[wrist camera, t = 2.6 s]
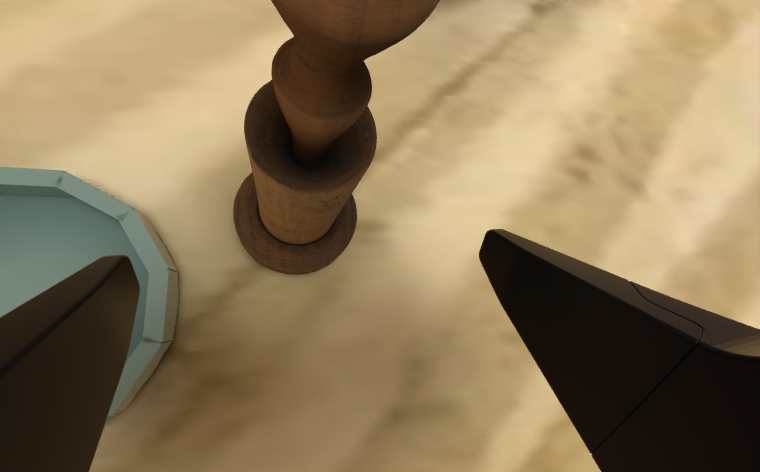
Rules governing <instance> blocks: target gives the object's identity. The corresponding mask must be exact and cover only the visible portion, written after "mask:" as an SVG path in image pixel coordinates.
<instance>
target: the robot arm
mask: <svg viewBox="0 0 760 472" xmlns="http://www.w3.org/2000/svg"><path fill="white" fill-rule="evenodd" d="M479 258H480V262H481V264H482V266H483V268H484V270H485V272H486V274H487V276H488V278H489V281H490V283H491V285H492V287H493V289H494V291H495V293H496V295H497V297H498V299H499V301H500V303H501V305H502V307H503V309H504V310H505V312H506V314H507V315H508V317H509V319H510V320H511V322H512V324H513V325H514V327H515V328H516V330H517V332H518V333H519V335H520V337H521V338H522V340H523V342H524V343H525V345H526V347H527V348H528V350H529V352H530V353H531V355H532V357H533V358H534V360H535V362H536V363H537V365H538V367H539V368H540V370H541V372H542V373H543V375H544V377H545V378H546V380H547V382H548V383H549V385H550V387H551V388H552V390H553V392H554V393H555V395H556V397H557V398H558V400H559V402H560V403H561V405H562V407H563V408H564V410H565V412H566V413H567V415H568V417H569V418H570V420H571V422H572V423H573V425H574V427H575V428H576V430H577V432H578V433H579V435H580V437H581V438H582V440H583V442H584V443H585V445H586V447H587V448H588V450H589V452H590V453H591V454H592V457H593V459H594V460H595V462H596V464H597V465H598V467H599V469H600V470H601V472H760V329H757V328H754V327H751V326H748V325H746V324H743V323H740V322H737V321H735V320H732V319H729V318H726V317H723V316H721V315H718V314H715V313H712V312H710V311H707V310H704V309H701V308H699V307H696V306H693V305H691V304H688V303H685V302H683V301H680V300H677V299H674V298H672V297H669V296H667V295H664V294H662V293H659V292H656V291H654V290H651V289H649V288H646V287H644V286H641V285H639V284H636V283H634V282H631V281H630V282H629V281H628V280H626V279H624V278H621V277H619V276H617V275H614V274H612V273H609V272H607V271H604V270H602V269H599V268H597V267H594V266H592V265H589V264H587V263H585V262H582V261H580V260H577V259H575V258H572V257H570V256H567V255H565V254H562V253H560V252H557V251H555V250H552V249H550V248H548V247H545V246H543V245H540V244H538V243H535V242H533V241H530V240H528V239H525V238H523V237H520V236H518V235H515V234H513V233H511V232H508V231H506V230H503V229H492V230H489V231H487V232H486V234H485V237H484V240H483V243H482V246H481V249H480V252H479ZM139 295H140V285H139V282H138V279H137V276H136V274H135V271H134V268H133V265H132V263H131V260H130V258H129V257H128V256H126V255H109V256H103V257H101V258H99V259H97V260H96V261H94V262H92V263H90V264H89V265H87V266H85V267H84V268H82V269H80V270H79V271H77V272H75V273H74V274H72V275H70V276H69V277H67V278H65V279H64V280H62V281H60V282H59V283H57V284H55V285H54V286H52V287H50V288H49V289H47V290H45V291H43V292H42V293H40V294H38V295H37V296H35V297H33V298H32V299H30V300H28V301H27V302H25V303H23V304H22V305H20V306H18V307H17V308H15V309H13V310H12V311H10V312H8V313H7V314H5V315H3V316H1V317H0V472H89V470H90V467H91V464H92V461H93V458H94V455H95V452H96V449H97V446H98V443H99V440H100V437H101V434H102V431H103V428H104V425H105V422H106V419H107V416H108V413H109V410H110V407H111V404H112V401H113V398H114V396H115V393H116V390H117V387H118V384H119V381H120V378H121V375H122V372H123V369H124V366H125V362H126V359H127V356H128V351H129V347H130V342H131V337H132V332H133V326H134V321H135V316H136V311H137V306H138V301H139Z"/></svg>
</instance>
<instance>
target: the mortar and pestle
mask: <svg viewBox="0 0 760 472" xmlns="http://www.w3.org/2000/svg"><path fill="white" fill-rule="evenodd" d="M271 1H272V2H273V4H274V6H275V7H276V9H277V10H278V12H279V14H280V15H281V17H282V18H283V20H284V22H285V23H286V24H287V26H288V27H289V29H290V30H291V32H292V33H293V35H294V37H293V38H291V39H290V40H288V41H286V42H285V43H284V44H283V45H282V46H281V47H280V48H279V49H278V51H277V53H276V55H275V56H274V59H273V62H272V80H271V81H269V82H268V83H266V84H265V85H264V86H263V87H261V88H260V89H259V90H258V91H257V93H256V94H255V95H254V97H253V98H252V100H251V102H250V104H249V106H248V109H247V111H246V115H245V122H244V133H245V140H246V145H247V149H248V154H249V158H250V162H251V166H252V171H253V172H252V173H251V174H250V175H249V176H248V177H247V178H246V179H245V180H244V182H243V183H242V185H241V186H240V188H239V190H238V192H237V195H236V198H235V202H234V208H233V216H234V223H235V227H236V230H237V233H238V235H239V238H240V240H241V242H242V244H243V246H244V247H245V249H246V250H247V252H248V253H249V254H250V255H251V256H252V257H253V258H254V259H255V260H256V261H258V262H259V263H261V264H262V265H264V266H266V267H268V268H270V269H272V270H275V271H278V272H282V273H287V274H305V273H310V272H314V271H317V270H319V269H321V268H323V267H325V266H327V265H328V264H330V263H331V262H332V261H334V260H335V259H336V258H337V257H338V256H339V255H340V254H341V253H342V252H343V251H344V250H345V248H346V247H347V245H348V244H349V242H350V240H351V238H352V236H353V234H354V231H355V227H356V221H357V211H356V204H355V201H354V198H353V195H352V192H353V191H354V189H355V188H356V186H357V185H358V183H359V181H360V180H361V178H362V177H363V175H364V174H365V172H366V171H367V169H368V167H369V166H370V164H371V162H372V159H373V157H374V154H375V150H376V142H377V134H376V126H375V122H374V119H373V116H372V114H371V112H370V110H369V108H368V106H367V105H368V103H369V101H370V98H371V93H372V83H371V77H370V73H369V71H368V69H367V66H366V65H365V63H364V60H365V59H367V58H368V57H371V56H373V55H375V54H378V53H379V52H381V51H383V50H385V49H387V48H389V47H390V46H392V45H394V44H396V43H398V42H400V41H401V40H403V39H404V38H406V37H407V36H409V35H410V34H411V33H412V32H414V31H415V30H416V29H417V28H418V27H419V26H420V25H421V24H422V23H423V22H424V21H425V20H426V19H427V18H428V17H429V15H430V14H431V13H432V11H433V10H434V9H435V7H436V6H437V4H438V2H439V1H440V0H271Z"/></svg>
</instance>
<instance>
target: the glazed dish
mask: <svg viewBox="0 0 760 472" xmlns="http://www.w3.org/2000/svg"><path fill="white" fill-rule="evenodd" d="M109 255H126V256H128V257H129V258H130V260H131V263H132V265H133V268H134V271H135V274H136V276H137V279H138V282H139V285H140V295H139V301H138V306H137V311H136V316H135V321H134V326H133V332H132V337H131V342H130V347H129V351H128V356H127V359H126V362H125V366H124V369H123V372H122V375H121V378H120V381H119V384H118V387H117V390H116V393H115V396H114V398H113V401H112V404H111V407H110V410H109V413H108V416H107V419H106V421H107V420H108V419H110V418H111V417H113V416H114V415H116V414H118V413H119V412H121V411H122V410H124V409H125V408H126V407H128V405H129V404H130V402H131V401H132V399H133V398H134V396H135V395H136V393H137V392H138V391H139V390H140V389H141V388H142V387H143V386H144V384H145V383H146V382H147V380H148V379H149V378H150V376H151V375H152V374H153V373H154V371H155V370H156V368H157V366H158V365H159V363H160V361H161V360H162V358H163V356H164V355H165V353H166V350H167V348H168V347H169V345H170V344H171V342H172V339H173V334H174V329H175V326H176V322H177V317H178V310H179V285H178V273H177V272H178V271H177V269H176V267H175V265H174V263H173V260H172V258H171V256H170V254H169V252H168V249H167V247H166V246H165V244H164V243H163V241H162V240H161V238H160V237H159V235H158V234H157V233H156V232H155V231H154V229H153V227H152V226H151V224H150V222H149V220H148V219H147V217H146V216H144V215H143V214H141V213H140V212H138V211H137V210H136V209H134V208H133V207H131V206H129V205H127V204H125V203H123V202H121V201H120V200H118V199H116V198H114V197H112V196H110V195H108V194H107V193H105V192H103V191H101V190H99V189H97V188H95V187H94V186H92V185H90V184H88V183H86V182H84V181H82V180H81V179H79V178H77V177H75V176H73V175H71V174H69V173H68V172H66V171H59V170H43V169H26V168H10V167H0V317H1V316H3V315H5V314H7V313H8V312H10V311H12V310H13V309H15V308H17V307H18V306H20V305H22V304H23V303H25V302H27V301H28V300H30V299H32V298H33V297H35V296H37V295H38V294H40V293H42V292H43V291H45V290H47V289H49V288H50V287H52V286H54V285H55V284H57V283H59V282H60V281H62V280H64V279H65V278H67V277H69V276H70V275H72V274H74V273H75V272H77V271H79V270H80V269H82V268H84V267H85V266H87V265H89V264H90V263H92V262H94V261H96V260H97V259H99V258H101V257H103V256H109Z"/></svg>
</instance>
